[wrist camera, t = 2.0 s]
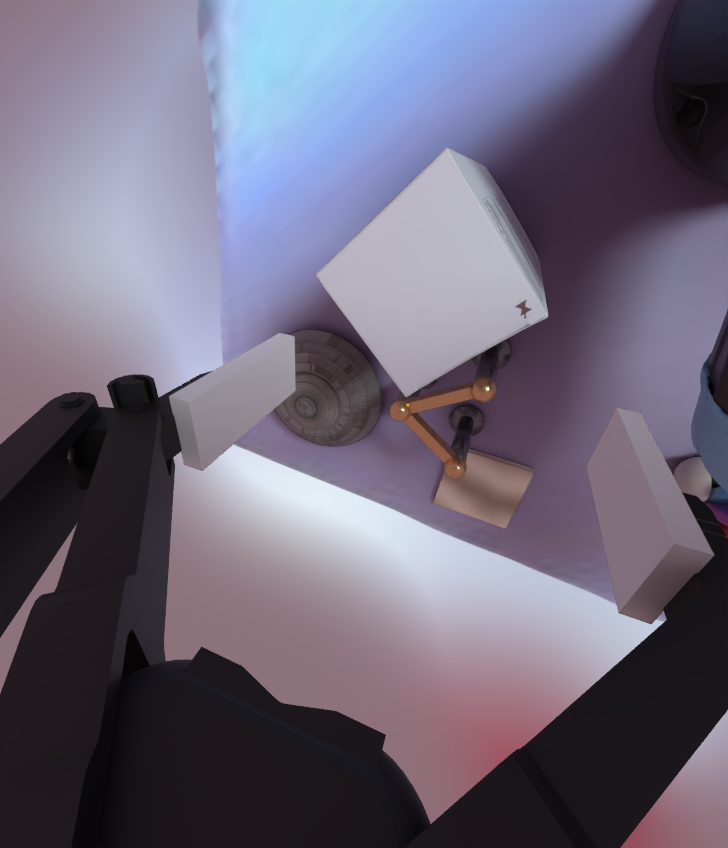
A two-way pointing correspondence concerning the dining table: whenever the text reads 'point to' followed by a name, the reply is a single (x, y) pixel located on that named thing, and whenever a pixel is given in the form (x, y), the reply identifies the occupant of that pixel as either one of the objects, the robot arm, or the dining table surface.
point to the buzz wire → (462, 417)
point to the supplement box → (438, 274)
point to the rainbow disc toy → (703, 488)
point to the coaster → (485, 488)
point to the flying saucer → (331, 391)
